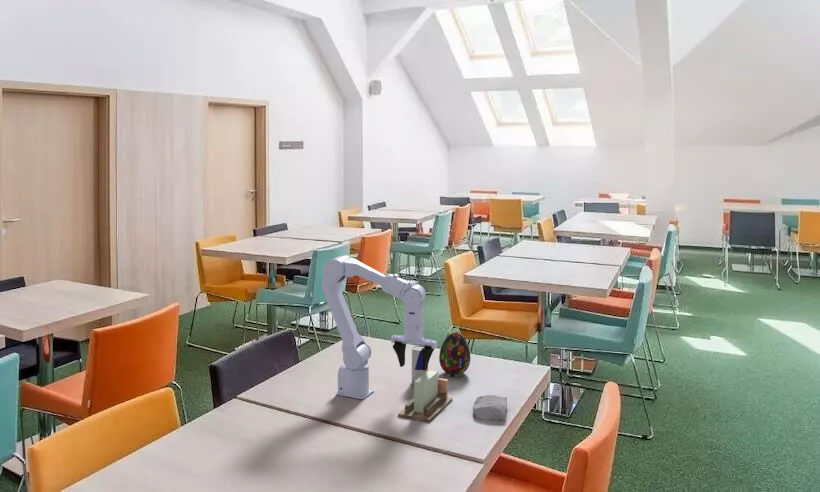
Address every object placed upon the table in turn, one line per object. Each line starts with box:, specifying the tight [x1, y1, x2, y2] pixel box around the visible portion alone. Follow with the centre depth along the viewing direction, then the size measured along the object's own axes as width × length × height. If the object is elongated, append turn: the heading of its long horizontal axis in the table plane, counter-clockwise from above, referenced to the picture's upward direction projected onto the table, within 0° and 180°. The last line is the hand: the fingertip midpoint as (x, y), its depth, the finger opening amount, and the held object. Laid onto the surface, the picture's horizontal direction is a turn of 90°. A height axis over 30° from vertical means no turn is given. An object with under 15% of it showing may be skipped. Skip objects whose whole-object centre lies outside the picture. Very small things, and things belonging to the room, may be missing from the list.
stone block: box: [472, 394, 508, 421], centre depth 191 cm, size 12×5×10 cm
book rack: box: [397, 377, 453, 423], centre depth 193 cm, size 10×18×7 cm, turn 156°
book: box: [413, 369, 439, 413], centre depth 193 cm, size 3×11×9 cm, turn 156°
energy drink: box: [411, 345, 429, 386], centre depth 213 cm, size 5×5×12 cm
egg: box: [438, 330, 471, 378], centre depth 222 cm, size 11×11×15 cm
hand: (413, 367), depth 198 cm, fingers open, 7 cm apart
